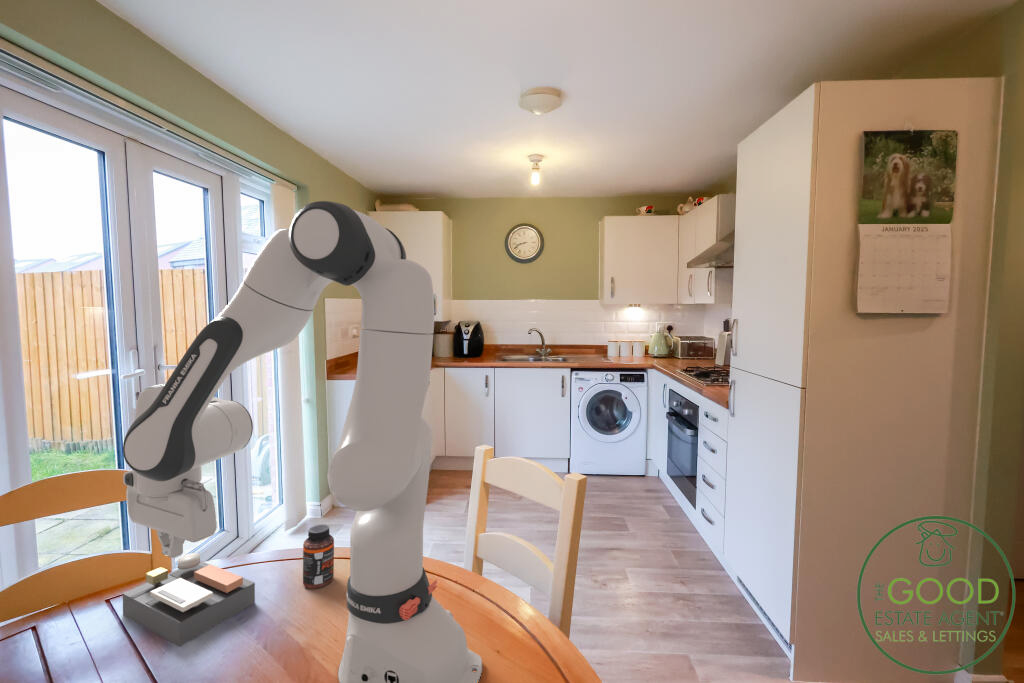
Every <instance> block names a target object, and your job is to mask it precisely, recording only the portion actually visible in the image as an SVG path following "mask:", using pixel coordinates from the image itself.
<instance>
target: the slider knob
mask: <svg viewBox="0 0 1024 683" xmlns="http://www.w3.org/2000/svg"><path fill="white" fill-rule="evenodd" d="M168 573H169V570H168V569H166V568H164V567H161V566H159V567H158V568H155V569H152V570H149V571H148V572H146V573H145V583H150V584H152V585H154V586H158V585H160V584H161V581H163V580H166V579H168Z"/></svg>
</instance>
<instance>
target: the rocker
mask: <svg viewBox="0 0 1024 683" xmlns="http://www.w3.org/2000/svg"><path fill="white" fill-rule="evenodd" d="M150 596H152V597H154V598H156V599H158V600H160V601H162V602H164V603H166V604H168V605H170V606H172V607H174V608H176V609H178V610H180V611H182V612H184V611H186V610H188V609H190V608H192V607H197V606H199V605H200V603H202V602H204V601H206V600H207V599H209V598H211V597H213V592H211V591H209V590H207V589H204V588H202V587H200V586H198V585H195V584H193V583H191V582H189V581H186V580H184V579H182V578H179V579H177V580H174V581H172V582H170V583H168V584H165V585H163V586H161V587H159V588H157V589H154V590H152V591H150Z"/></svg>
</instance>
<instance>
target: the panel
mask: <svg viewBox="0 0 1024 683" xmlns="http://www.w3.org/2000/svg"><path fill="white" fill-rule="evenodd" d="M208 565H210V563H207V562H205V561H203V560H200V563H199V564H198V565H197V566H195V567H193V568H189V569H183V570H182V569H178V568H177V569H176V570H172V571H171V572H168V579H166V580H163V581H161V584H160V585H158V586H154V585H152V584H150V583H148V582H145V583H143V584H141V585H139V586H136V587H134V588H132V589H130V590H128V591H125V592H123V593H122V616H124V617H126V618H127V619H129V620H131V621H133V622H134V623H136V624H139V625H140V626H141V627H143V628H145V629H147V630H149V631H151V632H152V633H154V634H157V635H158V636H160V637H162V638H164V640H165V639H166V640H167V641H169V642H171V643H172V644H174V645H175V646H178V647H182V646H184V645H185V644H186V643H188V642H190V641H192V640H194V639H196V638H197V637H199V636H200V635H203V634H204V633H206V632H207V631H210V630H211V629H212V628H215V627H216V626H218V625H220V624H221V623H224V622H225V621H226V620H228V619H230V618H232V617H233V616H235V615H237V614H239V613H240V612H242V611H244V610H246V609H247V608H249V607H251V606H252V605H254V604H255V603H256V600H255V599H256V592H255V591H256V589H255V588H256V583H255V582H254V581H252V580H250V579H247V578H244V577H243V585H241V586H239V587H237V588H235V589H234V590H232V591H230V592H228V593H225V592H223V591H221V590H218V589H216V588H214V587H211V586H209V585H207V584H205V583H202V582H200V581H198V580H195V579H194V572H195V571H197V570H199V569H202V568H204V567H206V566H208ZM179 578H182V579H184V580H186V581H189V582H191V583H193V584H195V585H198V586H200V587H202V588H204V589H207V590H209V591H211V592H213V597H211V598H209V599H207V600H206V601H204V602H202V603H200V605H199V606H197V607H192V608H190V609H188V610H186V611H184V612H182V611H180V610H178V609H176V608H174V607H172V606H170V605H168V604H166V603H164V602H162V601H160V600H158V599H156V598H154V597H152V596H150V591H152V590H154V589H157V588H159V587H161V586H163V585H165V584H168V583H170V582H172V581H174V580H177V579H179Z"/></svg>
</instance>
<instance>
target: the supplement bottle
mask: <svg viewBox="0 0 1024 683" xmlns="http://www.w3.org/2000/svg"><path fill="white" fill-rule="evenodd" d="M307 534H308V535H307V536H308V537H307V538H306V539H305V540H304V541H303V545H302V546H303V547H302V549H303V550H302V585H303V586H304V587H305V588H307V589H313V590H314V589H320V588H321V589H322V588H324V587H326V586H327V585H329V584H331V583H332V582H333V579H334V574H335V573H334V568H335V565H334V564H335V563H334V562H335V561H334V560H335V556H334V555H335V539H334V537H333V536H332V535H331V534H330V526H329V525H327V524H316V525H313V526H311V527H310V528H309V529H308V533H307Z"/></svg>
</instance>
